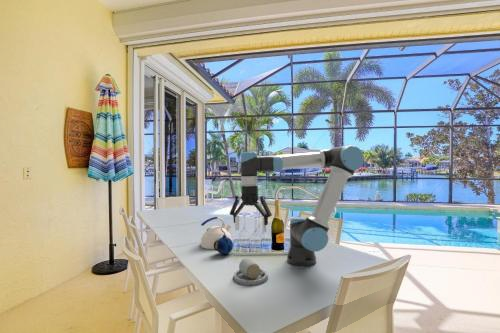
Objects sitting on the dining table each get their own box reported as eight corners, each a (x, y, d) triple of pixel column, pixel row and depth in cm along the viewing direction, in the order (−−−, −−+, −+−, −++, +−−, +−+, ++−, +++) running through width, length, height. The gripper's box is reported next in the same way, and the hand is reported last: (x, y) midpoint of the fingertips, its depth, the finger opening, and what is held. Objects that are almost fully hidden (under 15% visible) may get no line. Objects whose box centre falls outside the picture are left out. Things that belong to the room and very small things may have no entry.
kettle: (237, 246, 176) (237, 217, 175) (205, 251, 166) (205, 221, 166) (226, 238, 194) (225, 212, 193) (196, 242, 185) (196, 215, 184)
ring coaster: (273, 273, 131) (273, 270, 131) (260, 288, 116) (259, 284, 116) (242, 269, 138) (242, 265, 138) (226, 281, 123) (226, 277, 123)
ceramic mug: (247, 281, 121) (247, 264, 121) (238, 275, 129) (238, 258, 128) (267, 277, 126) (267, 260, 126) (258, 271, 134) (258, 255, 134)
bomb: (212, 253, 162) (211, 227, 162) (229, 250, 167) (228, 225, 167) (218, 258, 154) (217, 231, 154) (235, 255, 159) (235, 228, 159)
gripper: (277, 184, 127) (278, 231, 127) (229, 184, 137) (230, 227, 137) (272, 186, 120) (273, 235, 121) (221, 185, 130) (223, 230, 130)
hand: (250, 231), depth 129 cm, fingers open, 13 cm apart
